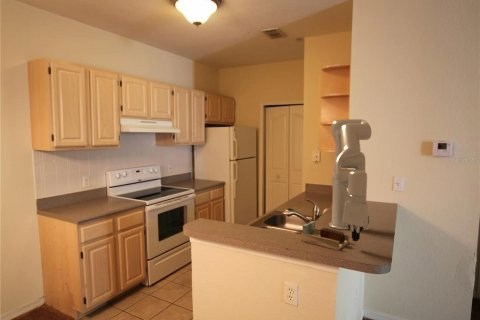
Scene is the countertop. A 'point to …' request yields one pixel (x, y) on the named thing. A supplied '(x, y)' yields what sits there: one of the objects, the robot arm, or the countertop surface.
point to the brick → (332, 234)
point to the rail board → (313, 237)
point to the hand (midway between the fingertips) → (355, 240)
